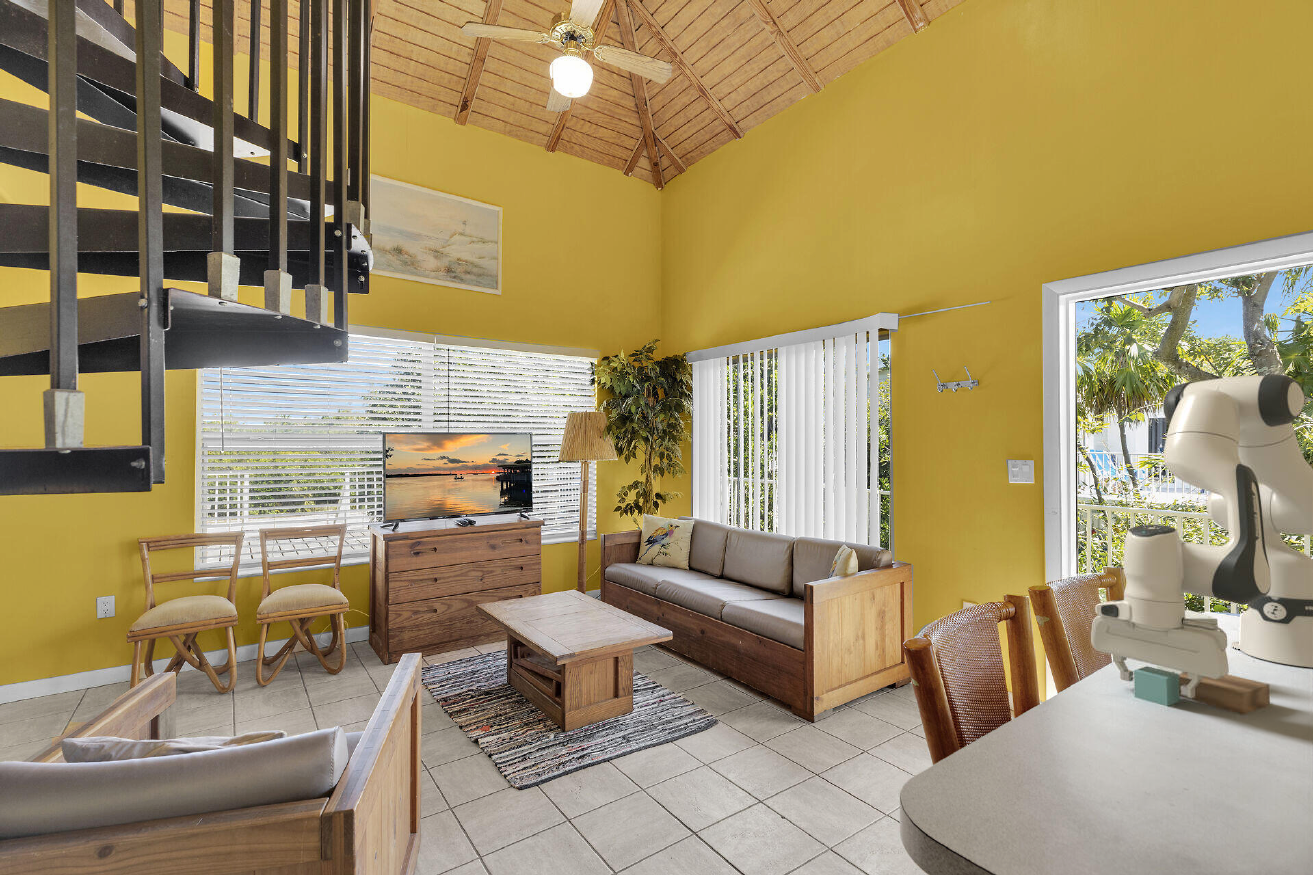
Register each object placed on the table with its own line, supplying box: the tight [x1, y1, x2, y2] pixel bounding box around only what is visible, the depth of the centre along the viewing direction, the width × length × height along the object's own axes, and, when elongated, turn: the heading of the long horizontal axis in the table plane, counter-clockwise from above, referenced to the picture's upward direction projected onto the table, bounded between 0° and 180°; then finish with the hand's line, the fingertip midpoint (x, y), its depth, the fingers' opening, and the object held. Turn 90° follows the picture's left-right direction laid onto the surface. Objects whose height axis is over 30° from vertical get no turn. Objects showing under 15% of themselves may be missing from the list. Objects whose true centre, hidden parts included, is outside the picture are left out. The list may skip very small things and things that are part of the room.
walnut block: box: [1179, 672, 1271, 716], centre depth 113 cm, size 10×10×4 cm
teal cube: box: [1133, 665, 1181, 707], centre depth 114 cm, size 5×5×5 cm
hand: (1156, 688), depth 114 cm, fingers open, 8 cm apart
